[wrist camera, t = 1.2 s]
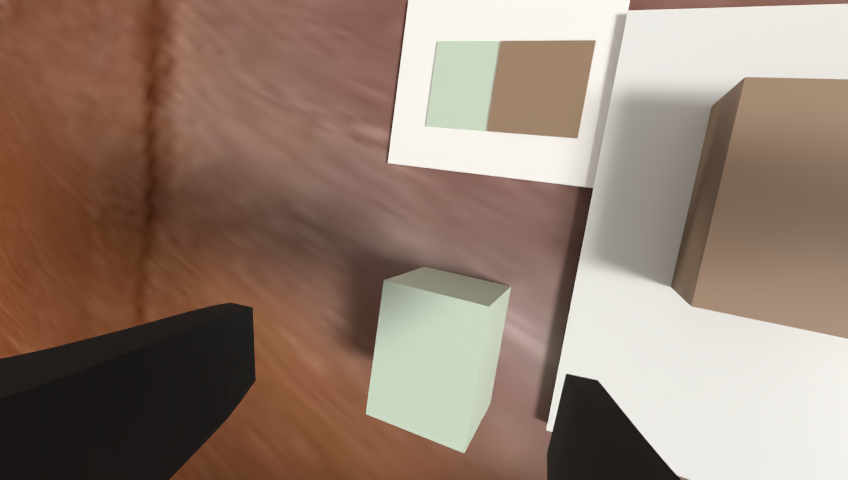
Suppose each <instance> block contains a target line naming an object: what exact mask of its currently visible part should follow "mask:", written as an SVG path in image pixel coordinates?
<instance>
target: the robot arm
mask: <svg viewBox="0 0 848 480" xmlns="http://www.w3.org/2000/svg"><path fill="white" fill-rule="evenodd" d="M254 382H255V356H254V332H253V307H248V306H243V305H238V304H234V303H226V304H220V305H215V306H210V307H206V308H202V309H198V310H194V311H190V312H186V313H183V314H179V315H175V316H172V317H168V318H164V319H161V320H157V321H154V322H150V323H146V324H143V325H139V326H135V327H132V328H128V329H125V330H121V331H117V332H113V333H109V334H105V335H101V336H97V337H93V338H89V339H86V340H82V341H78V342H74V343H70V344H66V345H62V346H58V347H54V348H49V349H45V350H41V351H36V352H31V353H27V354H22V355H17V356H12V357H7V358H2V359H0V480H169V479H170V478H171V477H172V476H173V475H174V474H175V473H176V472H177V471H178V470H179V469H180V468H181V467H182V466H183V465H184V464H185V463H186V461H187V460H188V459H189V458H190V457H191V456H192V455H193V454H194V453H195V452H196V451H197V450H198V449H199V448H200V447H201V446H202V445H203V444H204V443H205V442H206V441H207V440H208V438H209V437H210V436H211V435H212V434H213V433H214V432H215V431H216V430H217V429H218V428H219V427H220V426H221V425H222V424H223V422H224V421H225V420H226V419H227V418H228V417H229V416H230V414H231V413H232V412H233V410H234V409H235V408H236V407H237V405H238V404H239V403H240V401H241V400H242V399H243V397H244V396H245V394H246V393H247V392H248V390H249V389H250V387H251V386H252V385H253V383H254ZM547 480H681V479H680V478H679V477H678V476H677V475H676V474H675V473H674V472H673V471H672V469H671V468H670V467H669V466H668V465H667V464H666V462H665V461H664V460H663V459H662V458H661V457H660V455H659V454H658V453H657V452H656V451H655V450H654V448H653V447H652V446H651V445H650V444H649V442H648V441H647V440H646V439H645V438H644V436H643V435H642V434H641V433H640V432H639V430H638V429H637V428H636V427H635V425H634V424H633V423H632V422H631V421H630V419H629V418H628V417H627V416H626V414H625V413H624V412H623V411H622V409H621V408H620V407H619V406H618V404H617V403H616V402H615V401H614V399H613V398H612V397H611V396H610V394H609V393H608V392H607V391H606V389H605V388H604V387H603V386H602V385H601V384H600V382H599V381H598V380H594V379H590V378H585V377H580V376H575V375H571V374H566V376H565V380H564V385H563V389H562V393H561V397H560V402H559V406H558V410H557V414H556V419H555V423H554V427H553V431H552V436H551V440H550V444H549V448H548V453H547Z"/></svg>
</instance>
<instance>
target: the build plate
mask: <svg viewBox="0 0 848 480" xmlns="http://www.w3.org/2000/svg"><path fill="white" fill-rule="evenodd" d="M745 77H765V78H809V79H848V4H826V5H794V6H762V7H729V8H697V9H665V10H633V11H628V13H627V18H626V23H625V28H624V33H623V39H622V44H621V49H620V54H619V59H618V64H617V69H616V75H615V80H614V85H613V90H612V95H611V100H610V105H609V111H608V116H607V121H606V126H605V131H604V136H603V141H602V146H601V152H600V157H599V162H598V167H597V172H596V177H595V182H594V188H593V193H592V198H591V203H590V208H589V213H588V218H587V224H586V229H585V234H584V239H583V244H582V249H581V254H580V259H579V265H578V270H577V275H576V280H575V285H574V290H573V295H572V301H571V306H570V311H569V316H568V321H567V326H566V331H565V336H564V342H563V347H562V352H561V357H560V362H559V367H558V372H557V378H556V383H555V388H554V393H553V398H552V403H551V408H550V414H549V419H548V424H547V429H546V430H548V431H551V432H552V431H553V427H554V423H555V419H556V414H557V410H558V406H559V402H560V397H561V393H562V389H563V385H564V380H565V376H566V374H571V375H575V376H580V377H585V378H590V379H594V380H598V381H599V382H600V384H601V385H602V386H603V387H604V388H605V389H606V391H607V392H608V393H609V394H610V396H611V397H612V398H613V399H614V401H615V402H616V403H617V404H618V406H619V407H620V408H621V409H622V411H623V412H624V413H625V414H626V416H627V417H628V418H629V419H630V421H631V422H632V423H633V424H634V425H635V427H636V428H637V429H638V430H639V432H640V433H641V434H642V435H643V436H644V438H645V439H646V440H647V441H648V442H649V444H650V445H651V446H652V447H653V448H654V450H655V451H656V452H657V453H658V454H659V455H660V457H661V458H662V459H663V460H664V461H665V462H666V464H667V465H668V466H669V467H670V468H671V469H672V471H673V472H674V473H675V474H676V475H678V476H681V477H684V478H687V479H690V480H848V339H847V338H842V337H837V336H832V335H827V334H823V333H818V332H813V331H808V330H803V329H798V328H793V327H789V326H784V325H779V324H774V323H769V322H764V321H760V320H755V319H750V318H745V317H740V316H735V315H731V314H726V313H721V312H716V311H711V310H706V309H702V308H697V307H692V306H690V305H689V304H688V303H687V302H686V301H685V300H684V299H683V298H682V297H681V296H680V295H679V294H678V293H676V292H675V291H674V290H673V289H672V288H671V284H672V279H673V275H674V270H675V266H676V262H677V257H678V253H679V248H680V244H681V240H682V235H683V231H684V226H685V222H686V217H687V213H688V209H689V204H690V200H691V195H692V191H693V187H694V182H695V178H696V173H697V169H698V165H699V160H700V156H701V151H702V147H703V143H704V138H705V134H706V129H707V125H708V120H709V116H710V112H711V107H712V106H713V105H714V104H715V103H716V102H717V101H718V100H719V99H721V98H722V97H723V96H724V95H725V94H726V93H727V92H729V91H730V90H731V89H732V88H733V87H734V86H735V85H737V84H738V83H739V82H740V81H741V80H742V79H743V78H745Z"/></svg>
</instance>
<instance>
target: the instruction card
mask: <svg viewBox="0 0 848 480" xmlns="http://www.w3.org/2000/svg"><path fill="white" fill-rule="evenodd" d="M629 3H630V0H408V7H407V15H406V23H405V31H404V39H403V47H402V55H401V62H400V70H399V78H398V86H397V94H396V102H395V109H394V117H393V125H392V133H391V141H390V149H389V156H388V163H390V164H398V165H406V166H415V167H423V168H431V169H439V170H447V171H456V172H464V173H472V174H480V175H488V176H497V177H505V178H513V179H521V180H529V181H538V182H546V183H554V184H562V185H570V186H579V187H587V188H594V182H595V177H596V172H597V167H598V162H599V157H600V152H601V146H602V141H603V136H604V131H605V126H606V121H607V116H608V111H609V105H610V100H611V95H612V90H613V85H614V80H615V75H616V69H617V64H618V59H619V54H620V49H621V44H622V39H623V33H624V28H625V23H626V18H627V13H628V8H629Z"/></svg>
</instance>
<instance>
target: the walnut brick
mask: <svg viewBox="0 0 848 480" xmlns="http://www.w3.org/2000/svg"><path fill="white" fill-rule="evenodd" d="M671 288H672V289H673V290H674V291H675V292H676V293H678V294H679V295H680V296H681V297H682V298H683V299H684V300H685V301H686V302H687V303H688V304H689V305H690V306H692V307H697V308H702V309H706V310H711V311H716V312H721V313H726V314H731V315H735V316H740V317H745V318H750V319H755V320H760V321H764V322H769V323H774V324H779V325H784V326H789V327H793V328H798V329H803V330H808V331H813V332H818V333H823V334H827V335H832V336H837V337H842V338H847V339H848V79H809V78H765V77H745V78H743V79H742V80H741V81H740V82H739V83H738V84H737V85H735V86H734V87H733V88H732V89H731V90H730V91H729V92H727V93H726V94H725V95H724V96H723V97H722V98H721V99H719V100H718V101H717V102H716V103H715V104H714V105H713V106H712V107H711V112H710V116H709V120H708V125H707V129H706V134H705V138H704V143H703V147H702V151H701V156H700V160H699V165H698V169H697V173H696V178H695V182H694V187H693V191H692V195H691V200H690V204H689V209H688V213H687V217H686V222H685V226H684V231H683V235H682V240H681V244H680V248H679V253H678V257H677V262H676V266H675V270H674V275H673V279H672V284H671Z"/></svg>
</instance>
